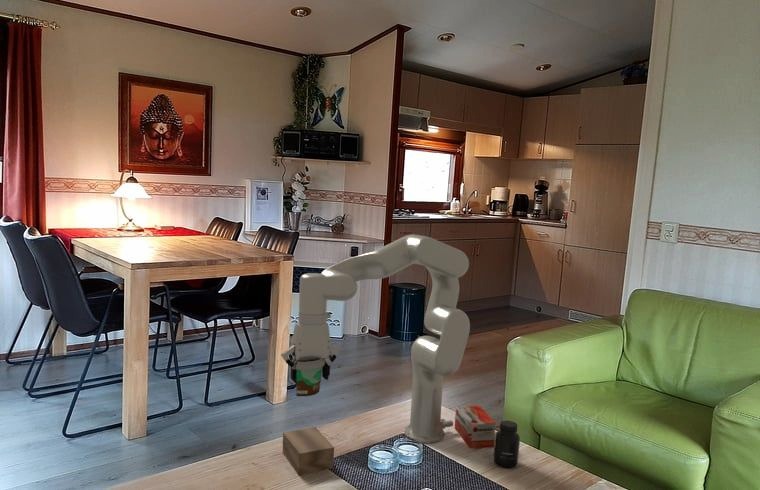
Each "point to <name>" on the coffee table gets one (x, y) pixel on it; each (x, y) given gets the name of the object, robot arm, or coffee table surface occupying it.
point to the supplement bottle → (507, 445)
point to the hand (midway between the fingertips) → (310, 379)
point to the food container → (309, 377)
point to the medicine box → (475, 426)
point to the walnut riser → (308, 450)
